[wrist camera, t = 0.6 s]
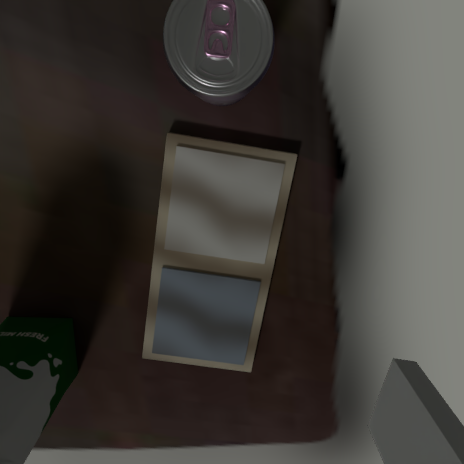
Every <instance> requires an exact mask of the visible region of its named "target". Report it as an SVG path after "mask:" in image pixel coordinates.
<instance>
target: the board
mask: <svg viewBox="0 0 464 464" xmlns="http://www.w3.org/2000/svg"><path fill="white" fill-rule="evenodd" d="M296 159H297V154H295V153H289V152H284V151H278V150H272V149H266V148H260V147H254V146H248V145H242V144H236V143H230V142H224V141H218V140H213V139H207V138H201V137H195V136H189V135H183V134H177V133H171V132H168V133H167V139H166V148H165V157H164V166H163V175H162V184H161V193H160V202H159V211H158V220H157V229H156V238H155V247H154V256H153V265H152V274H151V283H150V292H149V301H148V310H147V319H146V328H145V337H144V346H143V356H142V358H145V359H153V360H161V361H168V362H176V363H184V364H191V365H199V366H207V367H214V368H222V369H230V370H237V371H245V372H251V369H252V365H253V360H254V355H255V351H256V346H257V341H258V337H259V332H260V327H261V323H262V318H263V313H264V309H265V304H266V299H267V295H268V290H269V285H270V281H271V276H272V271H273V267H274V262H275V257H276V253H277V248H278V243H279V239H280V234H281V229H282V225H283V220H284V215H285V211H286V206H287V201H288V197H289V192H290V187H291V183H292V178H293V173H294V169H295V164H296Z"/></svg>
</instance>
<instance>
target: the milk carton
mask: <svg viewBox="0 0 464 464" xmlns="http://www.w3.org/2000/svg"><path fill="white" fill-rule="evenodd" d="M77 374H78V365H77V356H76V346H75V337H74V327H73V318H41V317H7V318H6V319H5V320H4V321H3V322H2V323H1V325H0V464H23V463H24V462H25V460H26V458H27V457H28V455H29V453H30V452H31V450H32V448H33V447H34V445H35V443H36V441H37V440H38V438H39V436H40V434H41V433H42V431H43V429H44V427H45V426H46V424H47V422H48V421H49V419H50V417H51V415H52V414H53V412H54V410H55V408H56V407H57V405H58V403H59V402H60V400H61V398H62V396H63V395H64V393H65V392H66V390H67V389H68V387H69V386H70V384H71V383H72V382H73V380H74V379H75V377H76V376H77Z"/></svg>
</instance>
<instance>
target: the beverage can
mask: <svg viewBox="0 0 464 464" xmlns="http://www.w3.org/2000/svg"><path fill="white" fill-rule="evenodd" d="M163 46H164V53H165V57H166V60H167V63H168V65H169V68H170V70H171V71H172V73H173V75H174V76H175V78H176V79H177V80H178V81H179V83H180V84H181V85H182V86H183V87H184V88H186V89H187V90H188V91H190V92H191V93H193V94H194V95H196V96H197V97H199V98H201V99H202V100H204V101H205V102H207V103H209V104H212V105H216V106H228V105H232V104H234V103H237V102H238V101H240V100H241V99H243V98H244V97H245V96H246V95H247V94H248V93H249V92H250V91H251V90H252V89H253V88H254V87H255V86H256V85H257V84H258V83H259V82H260V81H261V79H262V78H263V77H264V75H265V73H266V72H267V70H268V68H269V65H270V63H271V60H272V56H273V51H274V29H273V24H272V21H271V18H270V15H269V12H268V10H267V7H266V6H265V4H264V2H263V0H173V2H172V4H171V5H170V8H169V10H168V12H167V15H166V19H165V24H164V31H163Z"/></svg>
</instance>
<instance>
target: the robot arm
mask: <svg viewBox="0 0 464 464" xmlns="http://www.w3.org/2000/svg"><path fill="white" fill-rule="evenodd" d="M367 426H368V428H369V431H370V433H371V435H372V437H373V440H374V442H375V444H376V446H377V448H378V451H379V453H380V456H381V458H382V460H383V462H384V464H464V426H463V425H462V423H461V422H460V421H459V419H458V418H457V417H456V415H455V414H454V413H453V411H452V410H451V409H450V407H449V406H448V404H447V403H446V402H445V400H444V399H443V398H442V396H441V395H440V394H439V392H438V391H437V390H436V388H435V387H434V385H433V384H432V383H431V381H430V380H429V379H428V377H427V376H426V375H425V373H424V372H423V371H422V369H421V368H420V367H419V365H418V364H417V362H414V361H408V360H401V359H394V358H393V360H392V362H391V365H390V367H389V370H388V373H387V375H386V378H385V381H384V383H383V386H382V388H381V391H380V394H379V397H378V399H377V402H376V404H375V407H374V410H373V412H372V415H371V417H370V420H369V423H368V425H367Z"/></svg>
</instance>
